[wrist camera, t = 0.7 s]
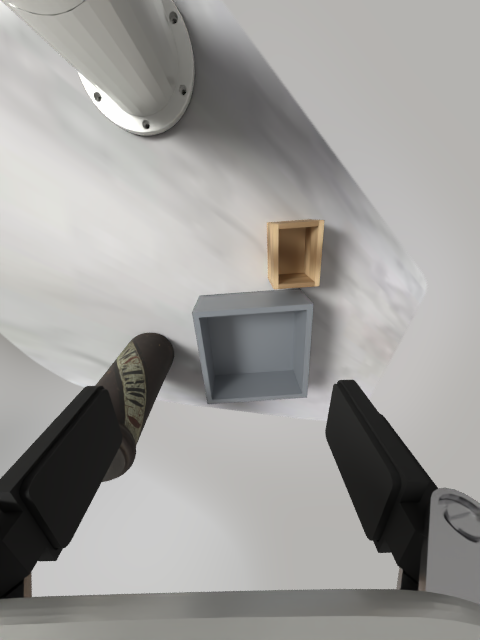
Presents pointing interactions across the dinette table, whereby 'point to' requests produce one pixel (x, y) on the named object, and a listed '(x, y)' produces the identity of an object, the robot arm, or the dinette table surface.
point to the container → (135, 391)
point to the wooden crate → (294, 253)
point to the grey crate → (254, 345)
